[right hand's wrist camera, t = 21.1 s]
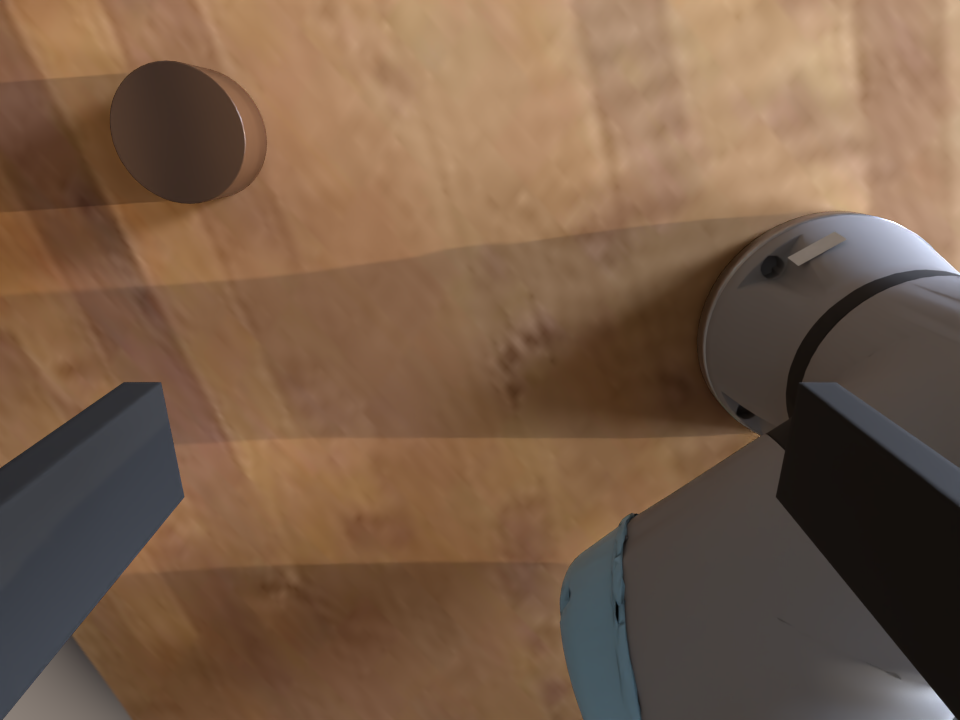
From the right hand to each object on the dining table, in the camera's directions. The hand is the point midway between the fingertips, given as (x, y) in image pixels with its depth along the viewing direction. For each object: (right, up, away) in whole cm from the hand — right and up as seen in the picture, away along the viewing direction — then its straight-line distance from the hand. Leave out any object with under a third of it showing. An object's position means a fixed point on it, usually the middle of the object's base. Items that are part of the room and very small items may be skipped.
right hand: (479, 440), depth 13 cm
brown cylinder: (-16, +15, +23) cm, 32 cm away
